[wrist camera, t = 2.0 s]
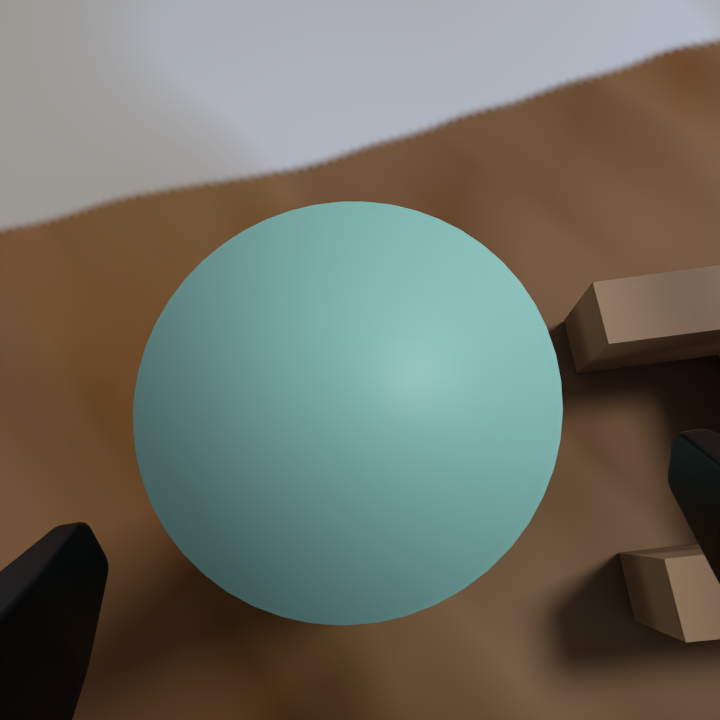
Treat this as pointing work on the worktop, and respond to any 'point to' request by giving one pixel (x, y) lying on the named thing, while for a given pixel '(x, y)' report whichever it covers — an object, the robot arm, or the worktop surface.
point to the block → (648, 346)
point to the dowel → (347, 413)
